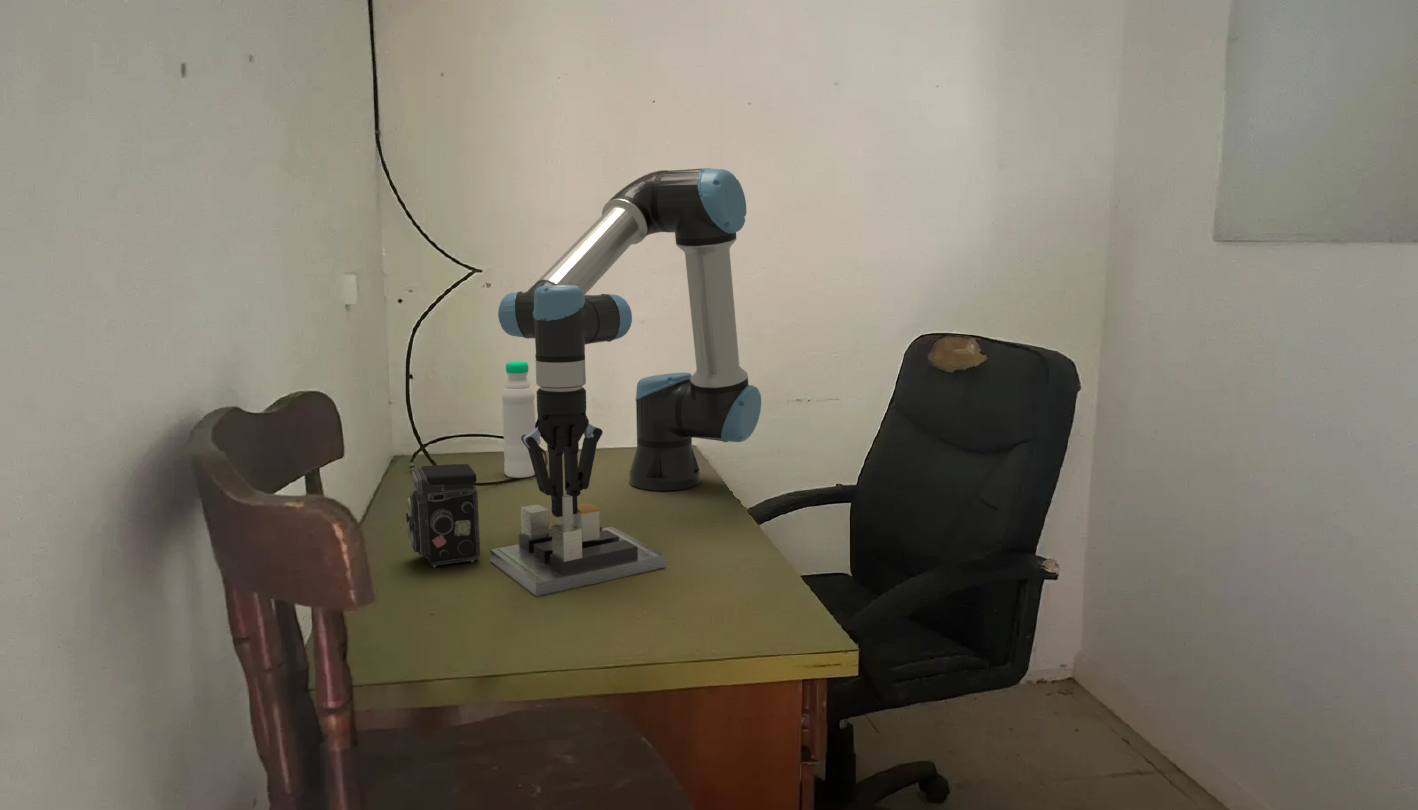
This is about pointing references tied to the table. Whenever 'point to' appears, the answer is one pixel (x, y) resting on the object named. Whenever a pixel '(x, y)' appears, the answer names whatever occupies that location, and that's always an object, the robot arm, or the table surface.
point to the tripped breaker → (587, 521)
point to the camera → (444, 514)
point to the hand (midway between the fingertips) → (565, 534)
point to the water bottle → (517, 420)
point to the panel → (573, 577)
